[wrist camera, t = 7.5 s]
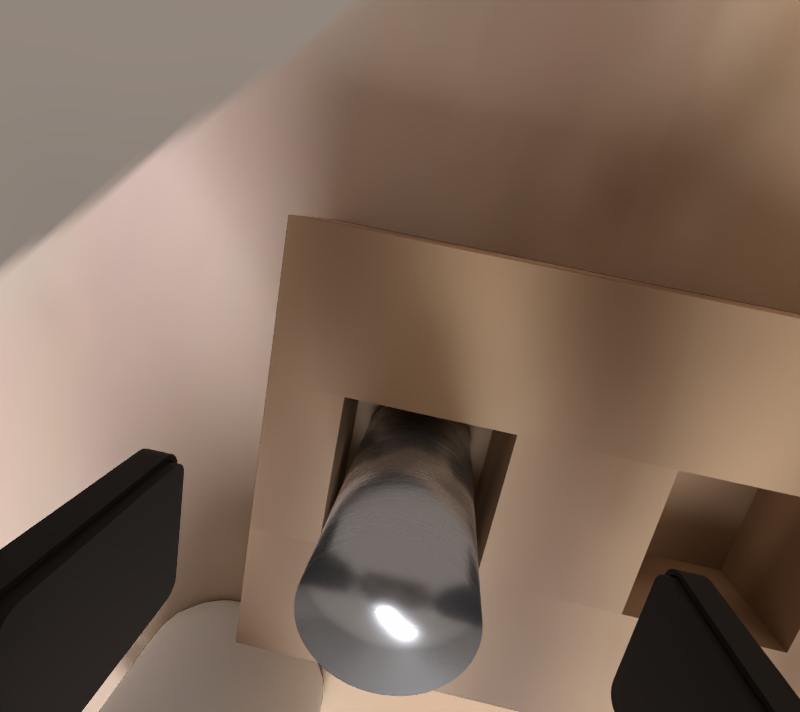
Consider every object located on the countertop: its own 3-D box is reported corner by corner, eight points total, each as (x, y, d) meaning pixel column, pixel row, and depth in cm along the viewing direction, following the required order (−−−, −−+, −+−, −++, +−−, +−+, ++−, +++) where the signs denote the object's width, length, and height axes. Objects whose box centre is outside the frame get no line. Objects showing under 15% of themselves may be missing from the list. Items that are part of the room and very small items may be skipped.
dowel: (480, 405, 14) (504, 565, 7) (457, 497, 15) (458, 715, 8) (376, 382, 14) (307, 518, 8) (359, 474, 15) (283, 669, 8)
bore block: (873, 329, 13) (1043, 368, 10) (717, 653, 17) (798, 780, 13) (331, 219, 14) (288, 214, 10) (282, 551, 17) (235, 642, 14)
